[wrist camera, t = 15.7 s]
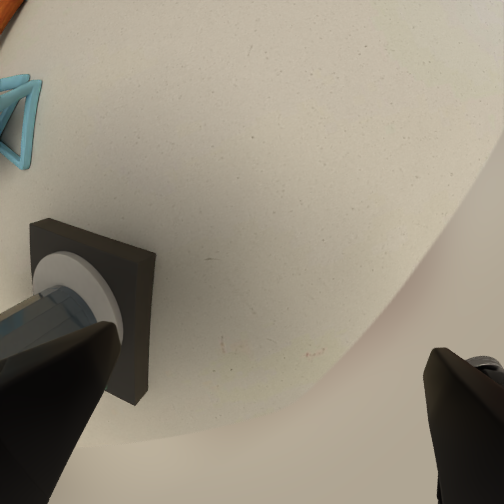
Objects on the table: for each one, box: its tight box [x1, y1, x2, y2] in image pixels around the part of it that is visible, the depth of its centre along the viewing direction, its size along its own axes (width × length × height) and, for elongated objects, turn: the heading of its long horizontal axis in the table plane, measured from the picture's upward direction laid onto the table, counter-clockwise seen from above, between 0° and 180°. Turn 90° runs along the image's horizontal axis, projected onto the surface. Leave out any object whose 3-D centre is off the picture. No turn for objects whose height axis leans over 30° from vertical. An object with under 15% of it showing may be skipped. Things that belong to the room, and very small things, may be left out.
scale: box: [30, 218, 156, 406], centre depth 25 cm, size 14×12×3 cm
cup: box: [0, 285, 97, 360], centre depth 17 cm, size 7×7×13 cm
